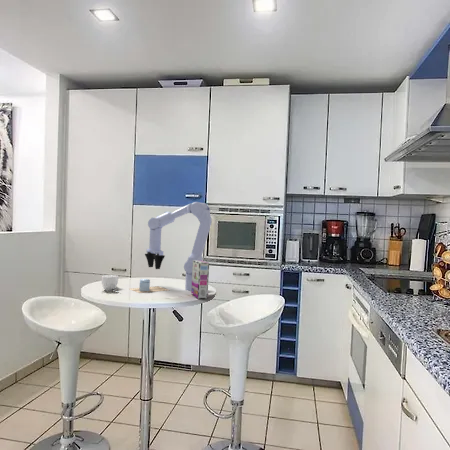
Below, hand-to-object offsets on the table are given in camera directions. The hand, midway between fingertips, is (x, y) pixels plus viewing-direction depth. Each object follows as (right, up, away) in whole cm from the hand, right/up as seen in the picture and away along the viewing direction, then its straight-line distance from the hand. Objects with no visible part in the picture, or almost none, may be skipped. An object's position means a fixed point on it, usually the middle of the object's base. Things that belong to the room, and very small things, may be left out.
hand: (154, 268), depth 200 cm
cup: (-19, -10, -10) cm, 24 cm away
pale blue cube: (-2, -9, -14) cm, 17 cm away
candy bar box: (+24, -11, -19) cm, 33 cm away
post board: (0, -10, -11) cm, 15 cm away
